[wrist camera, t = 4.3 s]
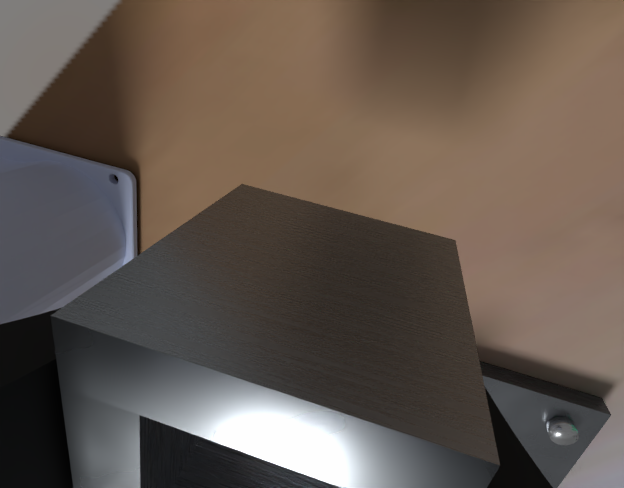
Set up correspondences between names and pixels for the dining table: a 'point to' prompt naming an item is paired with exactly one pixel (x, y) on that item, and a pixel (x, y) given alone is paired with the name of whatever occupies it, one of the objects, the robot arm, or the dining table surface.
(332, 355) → the grey square socket
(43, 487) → the robot arm
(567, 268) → the dining table surface
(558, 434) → the dark grey mounting plate
